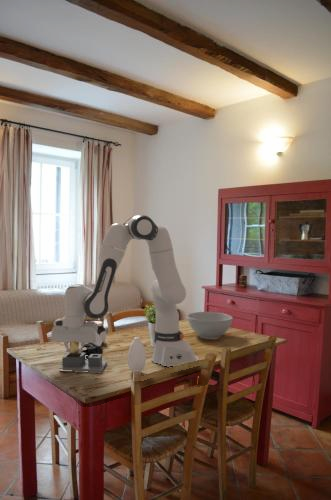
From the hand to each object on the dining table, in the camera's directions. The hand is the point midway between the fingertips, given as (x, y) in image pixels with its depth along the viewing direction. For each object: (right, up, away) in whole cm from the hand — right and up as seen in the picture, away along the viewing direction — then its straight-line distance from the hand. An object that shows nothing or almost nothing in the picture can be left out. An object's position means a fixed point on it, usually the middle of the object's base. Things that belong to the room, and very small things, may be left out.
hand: (74, 351), depth 173 cm
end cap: (+5, -7, +14) cm, 16 cm away
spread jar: (+3, -6, +36) cm, 37 cm away
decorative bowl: (+67, -6, +58) cm, 88 cm away
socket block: (+4, -7, 0) cm, 8 cm away
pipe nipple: (0, -3, 0) cm, 3 cm away
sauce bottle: (+28, -8, -5) cm, 30 cm away
